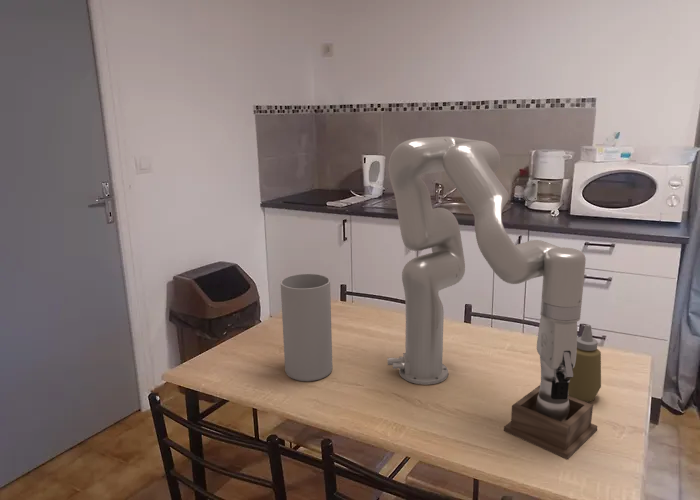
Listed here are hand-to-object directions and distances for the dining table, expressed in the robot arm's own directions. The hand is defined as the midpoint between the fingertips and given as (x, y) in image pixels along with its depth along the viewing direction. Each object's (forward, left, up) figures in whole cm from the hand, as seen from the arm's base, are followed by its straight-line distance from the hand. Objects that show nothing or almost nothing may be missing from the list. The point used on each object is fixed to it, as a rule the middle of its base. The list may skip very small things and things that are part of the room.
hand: (553, 390), depth 115 cm
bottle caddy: (0, 0, -9) cm, 9 cm away
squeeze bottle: (+12, +14, -10) cm, 21 cm away
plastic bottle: (0, 0, -7) cm, 7 cm away
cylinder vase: (-54, +28, -10) cm, 62 cm away
